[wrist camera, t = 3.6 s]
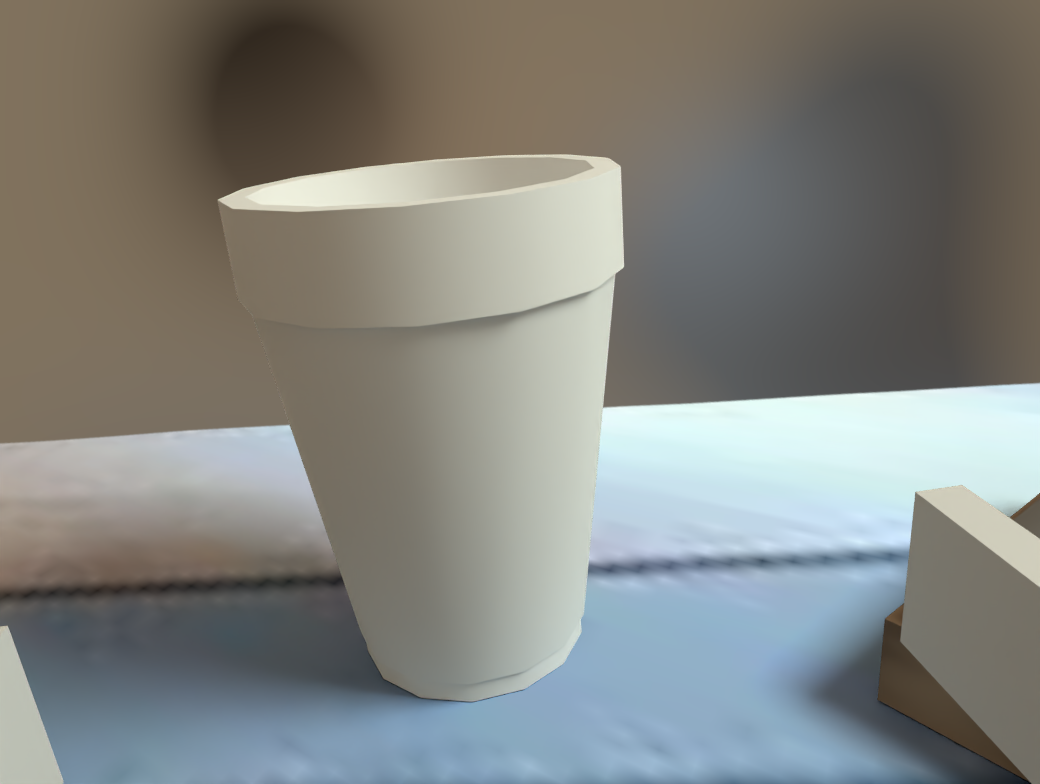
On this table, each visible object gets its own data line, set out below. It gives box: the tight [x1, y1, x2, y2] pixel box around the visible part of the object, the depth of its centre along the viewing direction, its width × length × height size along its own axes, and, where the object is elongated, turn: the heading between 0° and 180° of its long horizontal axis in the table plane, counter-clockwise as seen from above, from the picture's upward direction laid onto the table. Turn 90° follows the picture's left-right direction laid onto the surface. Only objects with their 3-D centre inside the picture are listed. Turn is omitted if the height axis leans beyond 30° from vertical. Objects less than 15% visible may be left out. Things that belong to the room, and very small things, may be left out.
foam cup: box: [218, 155, 624, 702], centre depth 22 cm, size 10×9×13 cm
